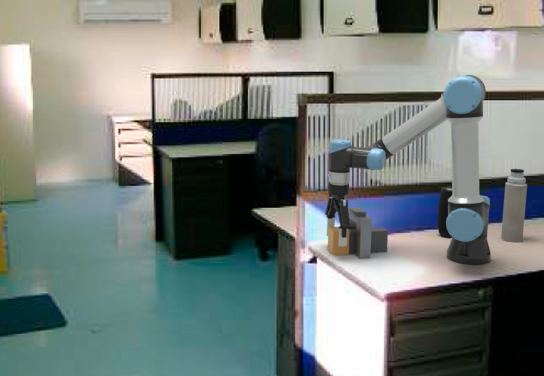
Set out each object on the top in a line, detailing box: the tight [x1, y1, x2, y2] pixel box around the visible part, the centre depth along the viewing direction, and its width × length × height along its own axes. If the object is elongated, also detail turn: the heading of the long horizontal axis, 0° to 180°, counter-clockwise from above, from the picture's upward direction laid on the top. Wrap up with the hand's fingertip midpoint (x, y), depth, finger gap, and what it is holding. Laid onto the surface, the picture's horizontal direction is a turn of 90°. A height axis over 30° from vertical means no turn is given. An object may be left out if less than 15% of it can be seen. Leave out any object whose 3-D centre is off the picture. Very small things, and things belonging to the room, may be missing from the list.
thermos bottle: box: [500, 168, 528, 243], centre depth 273 cm, size 8×8×28 cm
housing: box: [347, 206, 373, 260], centre depth 255 cm, size 18×4×16 cm, turn 14°
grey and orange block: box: [327, 225, 389, 256], centre depth 256 cm, size 21×6×9 cm, turn 103°
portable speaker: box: [437, 185, 453, 239], centre depth 279 cm, size 9×9×20 cm
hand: (336, 240), depth 254 cm, fingers open, 13 cm apart
